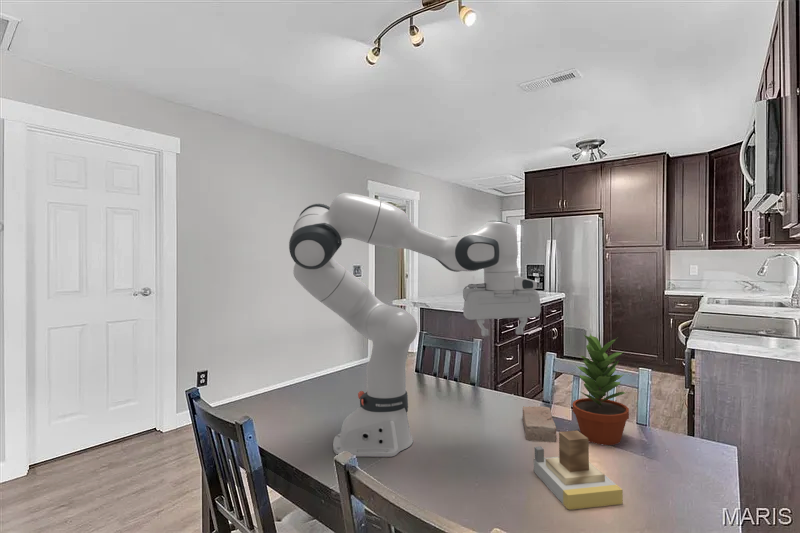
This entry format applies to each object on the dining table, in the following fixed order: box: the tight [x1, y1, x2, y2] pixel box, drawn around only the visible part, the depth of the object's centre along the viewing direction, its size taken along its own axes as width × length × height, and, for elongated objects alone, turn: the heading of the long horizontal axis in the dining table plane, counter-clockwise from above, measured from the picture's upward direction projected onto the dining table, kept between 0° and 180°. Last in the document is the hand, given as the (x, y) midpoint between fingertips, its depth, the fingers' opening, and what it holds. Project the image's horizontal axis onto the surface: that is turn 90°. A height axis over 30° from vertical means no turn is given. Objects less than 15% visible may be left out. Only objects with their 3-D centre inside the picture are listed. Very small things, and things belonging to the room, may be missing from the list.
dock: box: [533, 446, 624, 511], centre depth 96 cm, size 12×16×6 cm
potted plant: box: [572, 332, 630, 446], centre depth 121 cm, size 15×15×30 cm
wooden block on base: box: [546, 430, 606, 485], centre depth 96 cm, size 9×9×8 cm
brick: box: [522, 405, 557, 443], centre depth 127 cm, size 16×8×5 cm, turn 168°
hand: (502, 335), depth 113 cm, fingers open, 8 cm apart
